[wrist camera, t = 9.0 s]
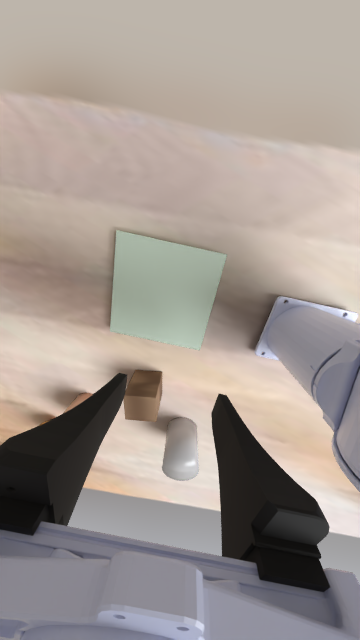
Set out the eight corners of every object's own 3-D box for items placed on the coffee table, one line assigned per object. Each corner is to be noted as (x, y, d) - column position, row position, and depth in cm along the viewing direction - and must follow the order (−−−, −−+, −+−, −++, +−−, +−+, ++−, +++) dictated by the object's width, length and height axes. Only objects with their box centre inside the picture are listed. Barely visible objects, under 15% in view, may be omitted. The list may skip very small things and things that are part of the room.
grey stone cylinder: (200, 420, 28) (202, 461, 22) (193, 440, 30) (193, 483, 24) (170, 414, 28) (165, 454, 22) (165, 435, 30) (159, 476, 24)
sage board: (225, 254, 19) (227, 254, 18) (199, 346, 23) (199, 350, 22) (120, 231, 19) (116, 229, 18) (113, 328, 23) (109, 331, 22)
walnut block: (162, 371, 25) (155, 397, 20) (162, 392, 26) (155, 421, 22) (135, 369, 25) (123, 395, 21) (136, 390, 27) (125, 419, 22)
